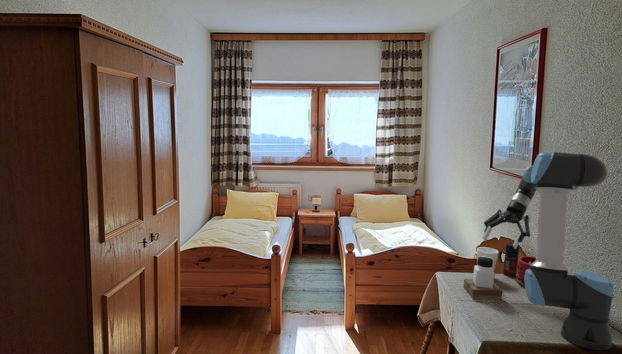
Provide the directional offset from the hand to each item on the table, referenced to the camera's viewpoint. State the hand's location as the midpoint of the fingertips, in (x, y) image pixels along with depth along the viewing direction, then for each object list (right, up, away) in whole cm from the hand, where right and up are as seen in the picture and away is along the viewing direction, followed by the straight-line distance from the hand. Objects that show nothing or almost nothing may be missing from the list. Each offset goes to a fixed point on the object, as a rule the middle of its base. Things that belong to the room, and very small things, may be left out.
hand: (498, 243), depth 195 cm
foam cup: (0, -19, +17) cm, 25 cm away
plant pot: (+18, -21, +8) cm, 28 cm away
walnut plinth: (-9, -21, -4) cm, 23 cm away
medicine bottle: (-9, -17, -4) cm, 20 cm away
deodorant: (+14, -19, +21) cm, 31 cm away
